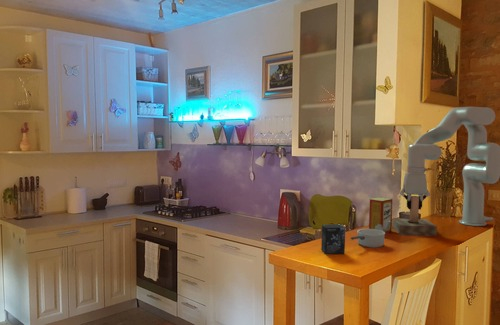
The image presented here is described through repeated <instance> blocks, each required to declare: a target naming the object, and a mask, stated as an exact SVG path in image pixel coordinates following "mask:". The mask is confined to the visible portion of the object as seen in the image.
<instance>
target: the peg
mask: <svg viewBox="0 0 500 325" xmlns="http://www.w3.org/2000/svg"><path fill="white" fill-rule="evenodd" d="M410 201H411V209H409V214H408V215H409V218H408V219H409V221H410V222H418V219H419V216H420V214H419V213H420V212H419V210H420V209H419V196H418V195H411V198H410Z"/></svg>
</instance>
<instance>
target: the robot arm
mask: <svg viewBox="0 0 500 325" xmlns="http://www.w3.org/2000/svg"><path fill="white" fill-rule="evenodd" d="M495 119H496V112H495V111H494V109H493V108H491V107H485V106H483V107H482V106H480V107H479V106H460V107H459V106H458V107H453V108H451V109H450V110H449V111H448V112H447V114H446V115H445V116H444V117H443V118H442V120H441V121H440V122H439V123H438V124H437V126H434V128H432V129H430V130H429V131H427V132H425V133H423V134H422V135H420V136H419V137H418V138H417V140H416V141H415V142H414V143H413V144H409V145H408V148H407V167H406V168H407V170H406V172H405V173H404V178H403V184H402V189H401V191H400V192H399V195H400V196H402V197H404V199H405V200H406V208H407V209H408V210H410V209H411V201H410V198H411V196H418V197H419V210H422V208H423V202H424V200H425V199H426V198H427V197H429V196H431V193H430V191H429V189H428V183H427V181H428V180H427V174H426V172H428V171H429V170H428V168H426V167H425V163H426V162H425V161H435V160H438V159H440V158H441V156H442V154H443V152H442V149H441V147H440V146H439V145H438V144H436V143H439V142H443V141H446V140H448V139H451V138H453V136H454V134H456V132H457V131H458V130H459V129H460V128H461V126H462V125H464V127H465V129H466V130H467V133H468V134H467V135H468V136H467V137H468V138H467V149H466V151H467V152H466V155H467V158H468V159H469V160H471V161H475V162H474V163H473V162H470V163H467V164H465V165H464V166H463V168H462V180H463V200H462V201H463V202H462V218H461V219H459V220H458V223H459V224H461V225H465V226H470V227H472V226H473V227H484V226H487V222H488V221H489V222H493V221H494V218H493V216H492V217H488V216H486V215H484V212H485V211H484V209H485V208H484V207H485V188H484V185H483V184H496V183H497V182H498V181H499V179H500V145H499V144H498V143H495V142H488V132H487V129H486V127H485V126H488V125H491V124H492V123H493V122H494V121H495ZM476 162H485V163H476Z"/></svg>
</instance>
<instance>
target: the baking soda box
mask: <svg viewBox="0 0 500 325" xmlns="http://www.w3.org/2000/svg"><path fill="white" fill-rule="evenodd" d="M387 220H390V221H391V223H390V225H389V227H388V229H385V234H388V233H390V232H392V228H393V227H392V224H393V198H386V197H374V198H373V197H372V198H370V199H369V218H368V222H369V223H368V229H375V226H377V225H378V224H380V225H382V227H384V225H385V223H386V221H387Z"/></svg>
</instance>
